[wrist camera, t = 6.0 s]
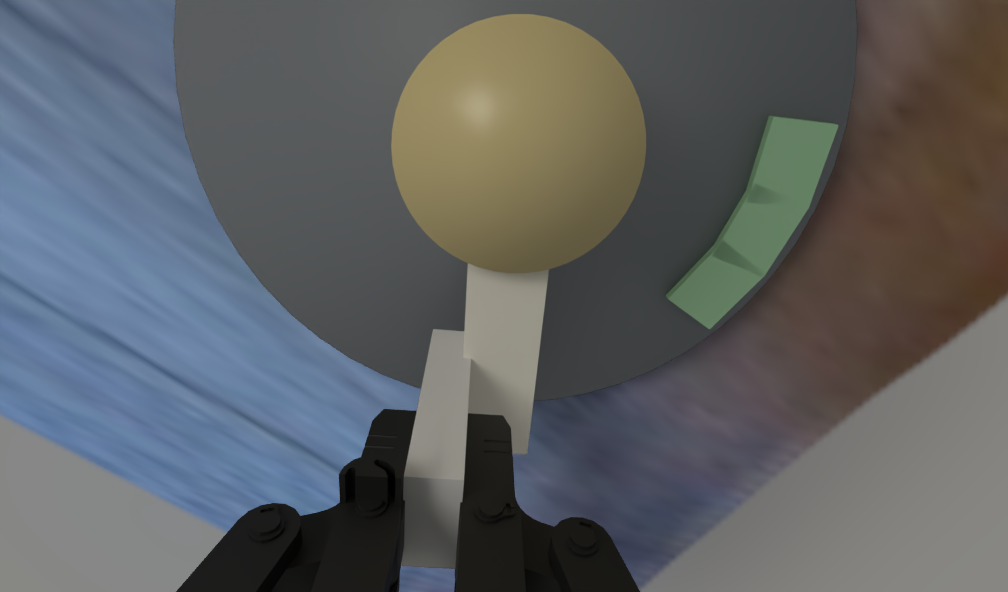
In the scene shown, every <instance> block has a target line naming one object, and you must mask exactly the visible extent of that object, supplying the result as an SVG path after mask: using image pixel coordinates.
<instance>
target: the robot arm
mask: <svg viewBox="0 0 1008 592" xmlns="http://www.w3.org/2000/svg"><path fill="white" fill-rule="evenodd" d="M463 350H464V331H453V330H439V329H433V332H432V337H431V342H430V347H429V352H428V357H427V362H426V367H425V372H424V377H423V382H422V387H421V392H420V397H419V402H418V407H417V411H407V410H391V409H384V410H383V411H382V412H381V413H380V414H379V415H378V416H377V417H376V418H375V419H374V420H373V421H372V424H371V428H370V431H369V435H368V437H367V440H366V444H365V448H364V450H363V453H362V457H361V458H358V459H355V460H353V461H351V462H350V463H348V464H347V465H346V466H344V468H343V469H342V471H341V472H340V474H339V487H340V503H339V504H337V505H336V506H334V507H332V508H330V509H328V510H324V511H321V512H318V513H313V514H308V515H303V516H300V515H299V514H298V512H297V511H296V510H295V509H294V508H292V507H290V506H288V505H286V504H278V503H272V504H266V505H261V506H259V507H257V508H255V509H252V510H250V511H248V512H247V513H246V514H245V515H244V516H242V517H241V518H240V519H239V520H238V521H237V522H236V523H235V524H234V526H233V527H232V528H231V529H230V530H229V531H228V532H227V534H226V535H225V536H224V537H223V538H222V540H221V541H220V542H219V543H218V544H217V545H216V546H215V547H214V549H213V550H212V551H211V552H210V553H209V554H208V556H207V557H206V558H205V559H204V560H203V561H202V562H201V564H200V565H199V566H198V567H197V568H196V569H195V571H194V572H193V573H192V574H191V575H190V576H189V578H188V579H187V580H186V581H185V582H184V583H183V584H182V586H181V587H180V588H179V589H178V590H177V591H176V592H399V576H400V568H401V562H402V566H412V567H428V568H451V569H455V590H454V592H640V591H639V589H638V587H637V585H636V583H635V582H634V580H633V578H632V576H631V574H630V572H629V570H628V569H627V567H626V565H625V563H624V561H623V559H622V557H621V556H620V554H619V552H618V550H617V548H616V546H615V544H614V543H613V541H612V539H611V537H610V536H609V534H608V533H607V532H606V531H605V529H604V528H603V527H601V526H600V525H598V524H597V523H595V522H594V521H591V520H588V519H585V518H578V517H571V518H568V519H565V520H562V521H560V522H559V523H558V524H557V525H556V526H555V527H553V526H550V525H547V524H544V523H541V522H539V521H537V520H534V519H532V518H531V517H529V516H528V515H527V514H525V513H524V512H523V511H522V509H521V508H520V507H519V505H518V503H517V502H516V498H515V490H514V472H513V455H512V438H511V427H510V425H509V424H508V422H507V421H506V419H505V418H504V416H503V415H489V414H472V413H468V401H469V383H470V365H471V358H463Z"/></svg>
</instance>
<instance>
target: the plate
mask: <svg viewBox="0 0 1008 592" xmlns="http://www.w3.org/2000/svg"><path fill="white" fill-rule="evenodd" d="M508 14H533V15H539V16H546V17H550V18H554V19H557V20H560V21H563V22H566V23H568V24H570V25H573V26H575V27H577V28H579V29H581V30H583V31H584V32H586V33H587V34H589V35H590V36H592V37H593V38H595V39H596V40H598V41H599V42H600V43H601V44H602V45H603V46H604V47H605V48H606V49H607V50H609V51H610V52H611V53H612V55H613V56H614V57H615V58H616V59H617V61H618V62H619V63H620V64H621V66H622V67H623V68H624V70H625V72H626V73H627V75H628V77H629V78H630V80H631V82H632V84H633V86H634V88H635V91H636V93H637V95H638V97H639V101H640V104H641V108H642V111H643V115H644V122H645V129H646V154H645V163H644V169H643V173H642V177H641V181H640V184H639V186H638V189H637V192H636V194H635V197H634V199H633V201H632V203H631V204H630V206H629V208H628V210H627V212H626V213H625V215H624V216H623V218H622V219H621V220H620V222H619V223H618V225H617V226H616V227H615V228H614V229H613V230H612V231H611V232H610V234H609V235H608V236H607V237H606V238H605V239H603V240H602V241H601V242H600V243H599V244H598V245H596V246H595V247H594V248H593V249H591V250H590V251H588V252H587V253H585V254H584V255H582V256H580V257H578V258H576V259H574V260H573V261H571V262H569V263H566V264H563V265H561V266H558V267H555V268H552V269H549V273H548V282H547V290H546V299H545V307H544V315H543V324H542V332H541V341H540V349H539V358H538V366H537V375H536V383H535V392H534V400H533V401H540V400H553V399H558V398H564V397H570V396H575V395H581V394H586V393H590V392H593V391H596V390H600V389H603V388H607V387H610V386H614V385H617V384H620V383H623V382H625V381H627V380H630V379H632V378H635V377H637V376H640V375H642V374H644V373H647V372H649V371H652V370H654V369H656V368H657V367H659V366H661V365H663V364H665V363H667V362H668V361H670V360H672V359H674V358H676V357H678V356H679V355H681V354H683V353H685V352H686V351H688V350H689V349H691V348H692V347H693V346H695V345H696V344H698V343H699V342H701V341H702V340H704V339H705V338H706V337H708V336H709V335H711V334H712V333H714V332H715V331H716V330H717V329H718V328H720V327H721V326H722V325H723V324H724V323H725V322H727V321H728V320H729V319H730V318H731V317H732V316H733V315H735V314H736V313H737V312H738V311H739V310H740V309H742V308H743V307H744V306H745V305H746V304H747V302H748V301H749V300H750V299H751V298H752V297H753V296H754V295H755V294H756V293H757V292H758V291H759V290H760V288H761V287H762V286H763V285H764V284H765V283H766V282H767V281H768V280H769V279H770V278H771V276H772V275H773V274H774V272H775V271H776V270H777V268H778V267H779V266H780V264H781V263H782V261H783V260H784V259H785V257H786V256H787V255H788V253H789V252H790V251H791V249H792V248H793V247H794V245H795V244H796V242H797V240H798V238H799V237H800V235H801V233H802V232H803V230H804V228H805V226H806V225H807V223H808V221H809V219H810V218H811V216H812V214H813V213H814V211H815V209H816V207H817V205H818V202H819V200H820V198H821V196H822V193H823V191H824V189H825V186H826V184H827V182H828V180H829V177H830V175H831V173H832V170H833V168H834V165H835V161H836V158H837V155H838V152H839V148H840V145H841V142H842V139H843V135H844V132H845V129H846V125H847V120H848V115H849V109H850V103H851V98H852V92H853V87H854V81H855V69H856V51H857V32H858V28H857V14H856V0H176V6H175V24H174V41H173V43H174V57H175V72H176V86H177V94H178V99H179V104H180V110H181V115H182V120H183V125H184V130H185V135H186V139H187V142H188V145H189V148H190V151H191V154H192V158H193V161H194V164H195V167H196V170H197V173H198V176H199V179H200V181H201V184H202V186H203V188H204V190H205V192H206V195H207V197H208V199H209V201H210V203H211V206H212V208H213V210H214V212H215V214H216V216H217V219H218V220H219V222H220V224H221V225H222V227H223V229H224V230H225V232H226V234H227V235H228V237H229V238H230V240H231V242H232V243H233V245H234V247H235V248H236V250H237V252H238V253H239V255H240V256H241V257H242V259H243V260H244V261H245V263H246V264H247V265H248V267H249V268H250V269H251V270H252V272H253V273H254V274H255V276H256V277H257V278H258V280H259V281H260V282H261V283H262V285H263V286H264V287H265V288H266V289H267V290H268V291H269V292H270V293H271V294H272V295H273V296H274V297H275V298H276V299H277V300H278V302H279V303H280V304H281V305H282V306H283V307H284V308H285V309H286V310H287V311H288V312H289V313H290V314H291V315H292V316H294V317H295V318H296V319H297V320H298V321H300V322H301V323H302V324H303V325H304V326H306V327H307V328H308V329H309V330H311V331H312V332H313V333H314V334H315V335H317V336H318V337H319V338H320V339H322V340H323V341H325V342H326V343H328V344H330V345H331V346H333V347H334V348H336V349H337V350H339V351H340V352H342V353H343V354H345V355H346V356H348V357H349V358H351V359H353V360H355V361H357V362H359V363H361V364H363V365H365V366H367V367H369V368H371V369H373V370H374V371H376V372H378V373H380V374H382V375H385V376H388V377H390V378H393V379H396V380H398V381H401V382H403V383H406V384H409V385H411V386H414V387H417V388H421V387H422V382H423V377H424V372H425V367H426V362H427V357H428V352H429V347H430V342H431V337H432V332H433V329H439V330H453V331H464V330H465V309H466V289H467V269H468V263H466V262H464V261H462V260H460V259H458V258H457V257H455V256H453V255H451V254H450V253H448V252H447V251H445V250H444V249H443V248H441V247H440V246H439V245H437V244H436V243H435V242H434V241H433V240H432V239H431V238H430V237H429V236H428V235H427V234H426V233H425V232H424V231H423V230H422V228H421V227H420V226H419V225H418V224H417V222H416V221H415V219H414V218H413V216H412V215H411V213H410V212H409V210H408V208H407V206H406V204H405V202H404V200H403V198H402V196H401V193H400V190H399V188H398V185H397V182H396V178H395V173H394V168H393V163H392V151H391V141H392V128H393V122H394V117H395V112H396V109H397V106H398V103H399V100H400V96H401V94H402V92H403V90H404V88H405V86H406V84H407V82H408V80H409V78H410V77H411V75H412V74H413V72H414V71H415V69H416V68H417V66H418V65H419V63H420V62H421V61H422V60H423V59H424V58H425V57H426V55H427V54H428V53H429V52H430V51H431V50H432V49H433V48H434V47H436V46H437V45H438V44H439V43H440V42H441V41H443V40H444V39H445V38H447V37H448V36H450V35H451V34H453V33H455V32H456V31H458V30H459V29H461V28H463V27H466V26H468V25H470V24H472V23H474V22H477V21H480V20H484V19H487V18H490V17H494V16H501V15H508Z"/></svg>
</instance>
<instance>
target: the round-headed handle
mask: <svg viewBox="0 0 1008 592" xmlns="http://www.w3.org/2000/svg"><path fill="white" fill-rule="evenodd" d="M391 151H392V163H393V168H394V173H395V178H396V182H397V185H398V188H399V190H400V193H401V196H402V198H403V200H404V202H405V204H406V206H407V208H408V210H409V212H410V213H411V215H412V216H413V218H414V219H415V221H416V222H417V224H418V225H419V226H420V227H421V228H422V230H423V231H424V232H425V233H426V234H427V235H428V236H429V237H430V238H431V239H432V240H433V241H434V242H435V243H436V244H437V245H439V246H440V247H441V248H443V249H444V250H445V251H447V252H448V253H450V254H451V255H453V256H455V257H457V258H458V259H460V260H462V261H464V262H466V263H468V269H467V289H466V309H465V330H464V350H463V358H471V365H470V383H469V401H468V413H472V414H489V415H503V416H504V418H505V419H506V421H507V422H508V424H509V425H510V427H511V438H512V454H527V451H528V443H529V434H530V426H531V417H532V409H533V400H534V392H535V383H536V375H537V366H538V358H539V349H540V341H541V332H542V324H543V315H544V307H545V299H546V290H547V282H548V273H549V269H552V268H555V267H558V266H561V265H563V264H566V263H569V262H571V261H573V260H574V259H576V258H578V257H580V256H582V255H584V254H585V253H587V252H588V251H590V250H591V249H593V248H594V247H595V246H596V245H598V244H599V243H600V242H601V241H602V240H603V239H605V238H606V237H607V236H608V235H609V234H610V232H611V231H612V230H613V229H614V228H615V227H616V226H617V225H618V223H619V222H620V220H621V219H622V218H623V216H624V215H625V213H626V212H627V210H628V208H629V206H630V204H631V203H632V201H633V199H634V197H635V194H636V192H637V189H638V186H639V184H640V181H641V177H642V173H643V169H644V163H645V154H646V129H645V122H644V115H643V111H642V108H641V104H640V101H639V97H638V95H637V93H636V91H635V88H634V86H633V84H632V82H631V80H630V78H629V77H628V75H627V73H626V72H625V70H624V68H623V67H622V66H621V64H620V63H619V62H618V61H617V59H616V58H615V57H614V56H613V55H612V53H611V52H610V51H609V50H607V49H606V48H605V47H604V46H603V45H602V44H601V43H600V42H599V41H598V40H596V39H595V38H593V37H592V36H590V35H589V34H587V33H586V32H584V31H583V30H581V29H579V28H577V27H575V26H573V25H570V24H568V23H566V22H563V21H560V20H557V19H554V18H550V17H546V16H539V15H533V14H508V15H501V16H494V17H490V18H487V19H484V20H480V21H477V22H474V23H472V24H470V25H468V26H466V27H463V28H461V29H459V30H458V31H456V32H455V33H453V34H451V35H450V36H448V37H447V38H445V39H444V40H443V41H441V42H440V43H439V44H438V45H437V46H436V47H434V48H433V49H432V50H431V51H430V52H429V53H428V54H427V55H426V57H425V58H424V59H423V60H422V61H421V62H420V63H419V65H418V66H417V68H416V69H415V71H414V72H413V74H412V75H411V77H410V78H409V80H408V82H407V84H406V86H405V88H404V90H403V92H402V94H401V96H400V100H399V103H398V106H397V109H396V112H395V117H394V122H393V128H392V141H391Z"/></svg>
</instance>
